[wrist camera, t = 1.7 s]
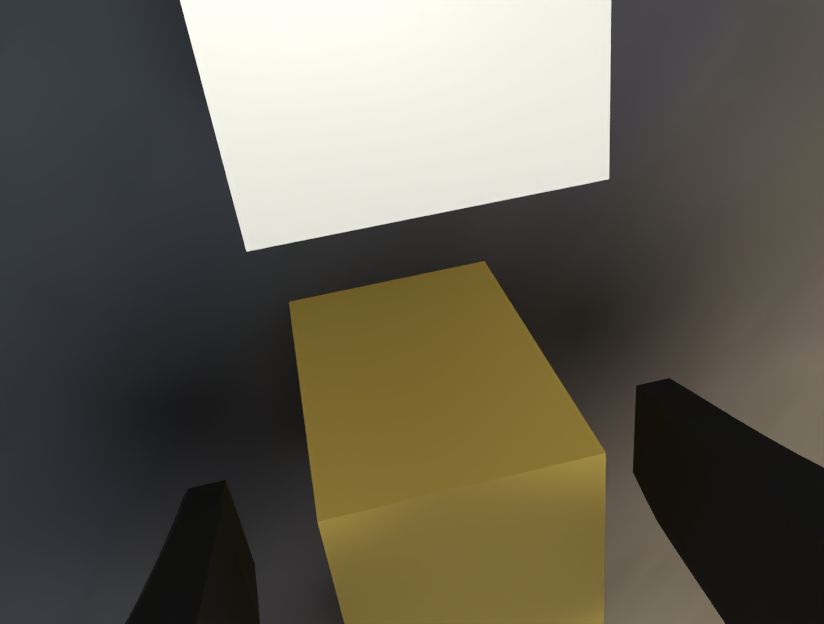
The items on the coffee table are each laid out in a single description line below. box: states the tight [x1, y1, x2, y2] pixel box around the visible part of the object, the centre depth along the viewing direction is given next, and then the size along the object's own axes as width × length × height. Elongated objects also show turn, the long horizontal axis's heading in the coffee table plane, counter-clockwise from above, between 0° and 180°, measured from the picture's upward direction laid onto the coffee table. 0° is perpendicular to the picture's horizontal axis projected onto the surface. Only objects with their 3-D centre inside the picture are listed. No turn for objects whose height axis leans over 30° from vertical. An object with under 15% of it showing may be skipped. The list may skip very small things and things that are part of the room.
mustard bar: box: [289, 261, 606, 624], centre depth 14 cm, size 4×4×6 cm
